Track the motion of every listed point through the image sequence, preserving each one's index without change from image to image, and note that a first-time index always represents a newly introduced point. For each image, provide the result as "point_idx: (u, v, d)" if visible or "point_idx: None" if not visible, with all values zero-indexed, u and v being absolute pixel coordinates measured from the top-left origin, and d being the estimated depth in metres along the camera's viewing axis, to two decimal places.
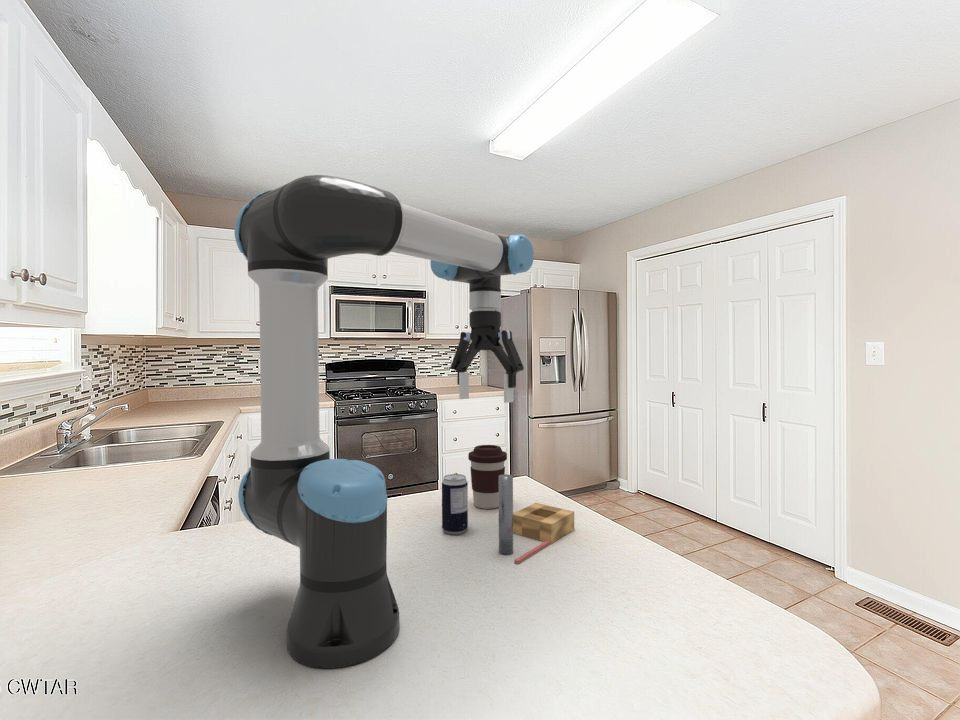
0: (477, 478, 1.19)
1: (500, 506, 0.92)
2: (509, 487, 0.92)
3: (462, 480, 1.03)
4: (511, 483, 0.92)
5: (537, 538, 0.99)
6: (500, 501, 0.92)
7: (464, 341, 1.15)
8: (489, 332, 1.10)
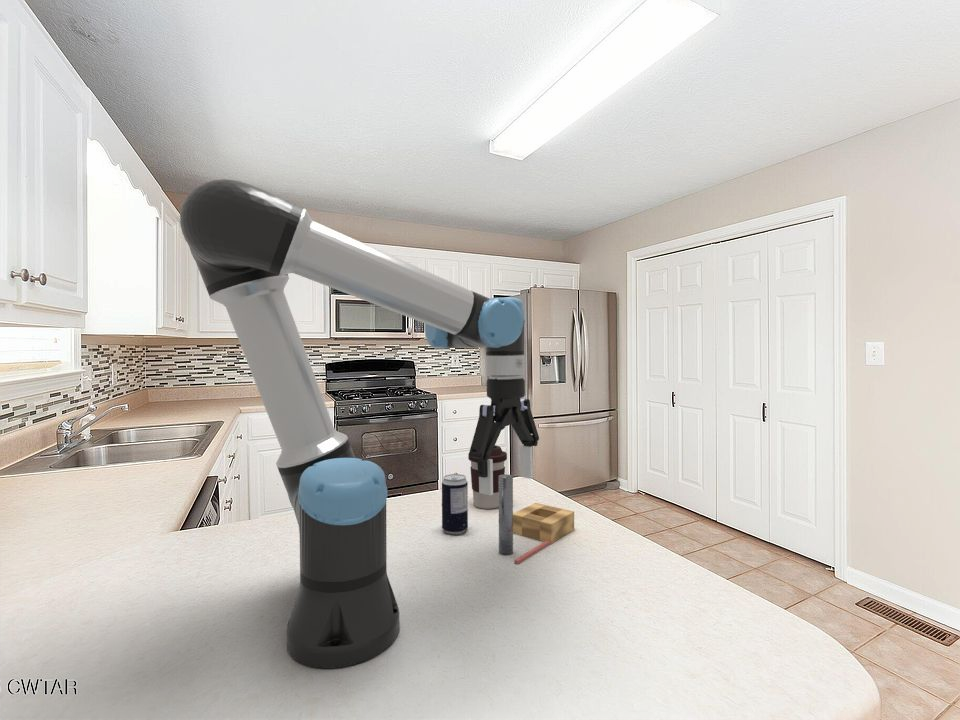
0: (477, 478, 1.19)
1: (500, 506, 0.92)
2: (509, 487, 0.92)
3: (462, 480, 1.03)
4: (511, 483, 0.92)
5: (537, 538, 0.99)
6: (500, 501, 0.92)
7: None
8: None
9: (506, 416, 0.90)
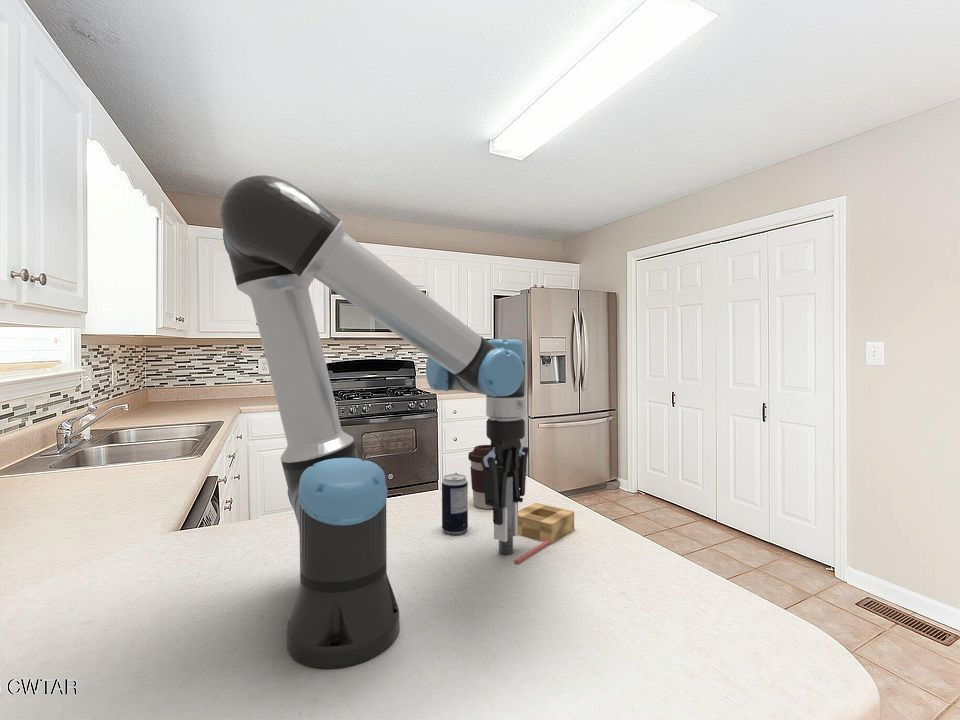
0: (477, 478, 1.19)
1: None
2: (509, 487, 0.92)
3: (462, 480, 1.03)
4: (511, 483, 0.92)
5: (537, 538, 0.99)
6: None
7: None
8: None
9: (507, 459, 0.90)
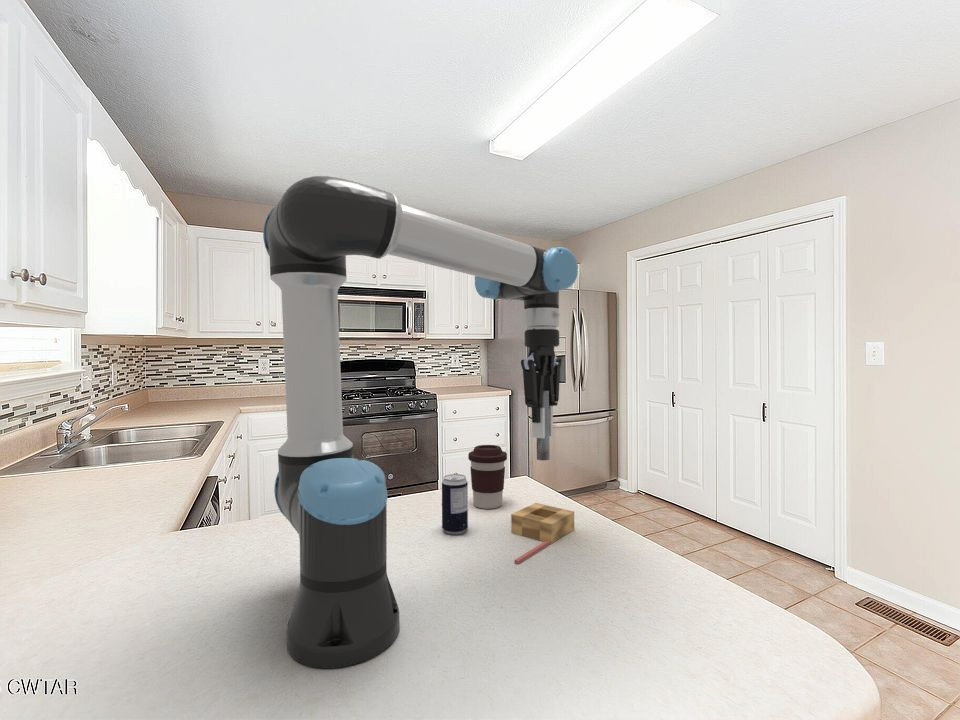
0: (477, 478, 1.19)
1: None
2: (546, 400, 1.02)
3: (462, 480, 1.03)
4: (547, 396, 1.02)
5: (537, 538, 0.99)
6: None
7: None
8: None
9: (544, 364, 1.01)
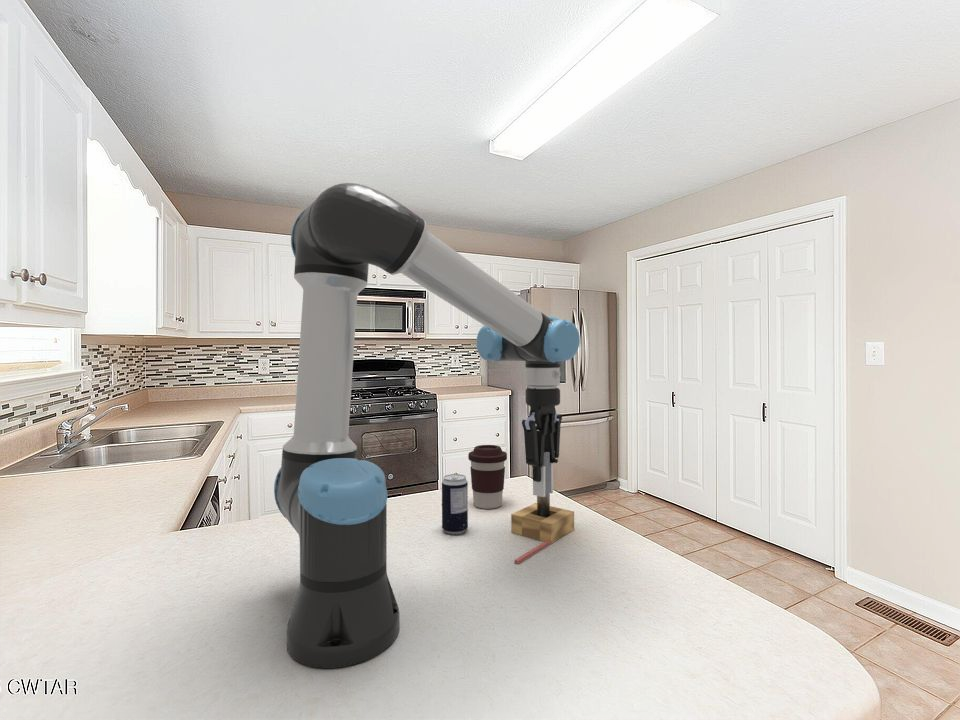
0: (477, 478, 1.19)
1: None
2: (546, 461, 1.03)
3: (462, 480, 1.03)
4: (548, 457, 1.03)
5: (537, 538, 0.99)
6: None
7: None
8: None
9: (545, 423, 1.01)
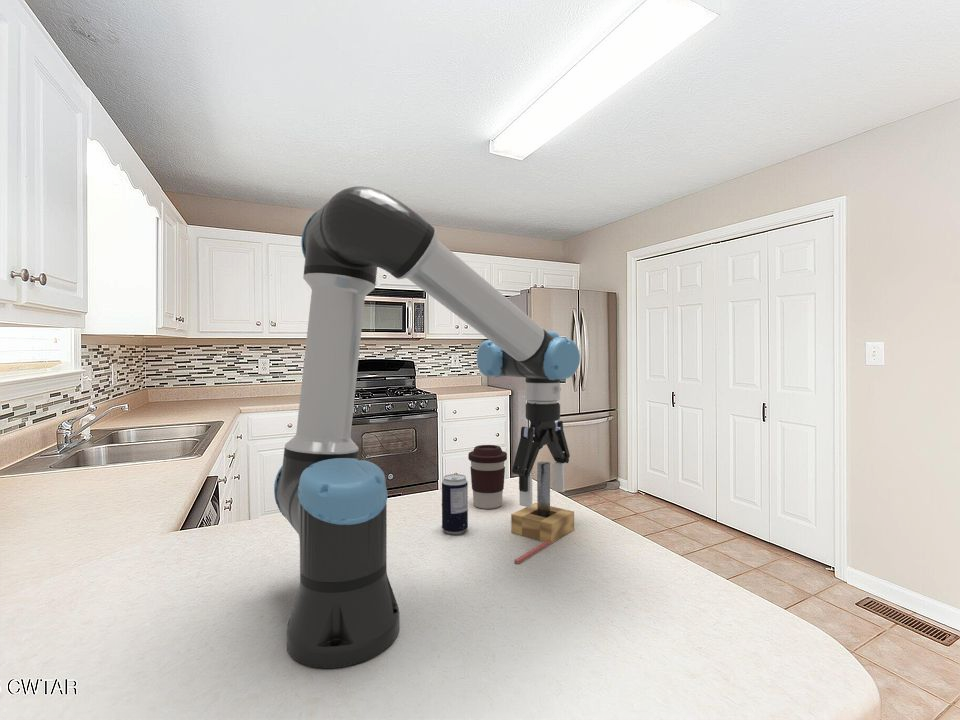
0: (477, 478, 1.19)
1: (539, 489, 1.03)
2: (547, 473, 1.03)
3: (462, 480, 1.03)
4: (549, 469, 1.03)
5: (537, 538, 0.99)
6: (538, 485, 1.03)
7: None
8: None
9: (544, 437, 1.01)
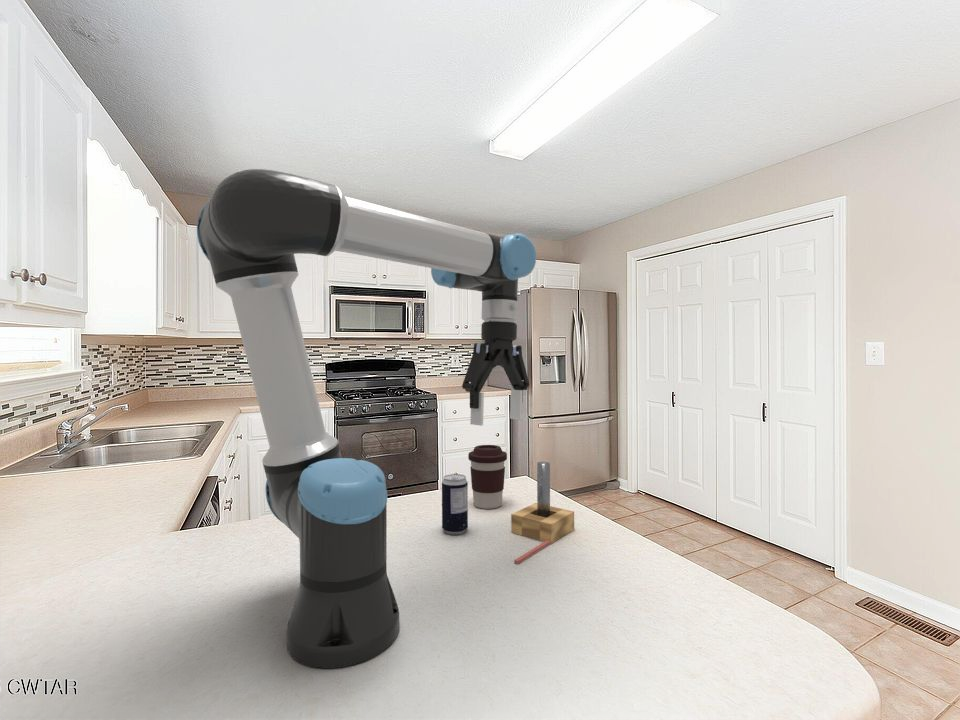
0: (477, 478, 1.19)
1: (539, 489, 1.03)
2: (547, 473, 1.03)
3: (462, 480, 1.03)
4: (549, 469, 1.03)
5: (537, 538, 0.99)
6: (538, 485, 1.03)
7: (511, 355, 1.05)
8: None
9: (498, 355, 0.97)
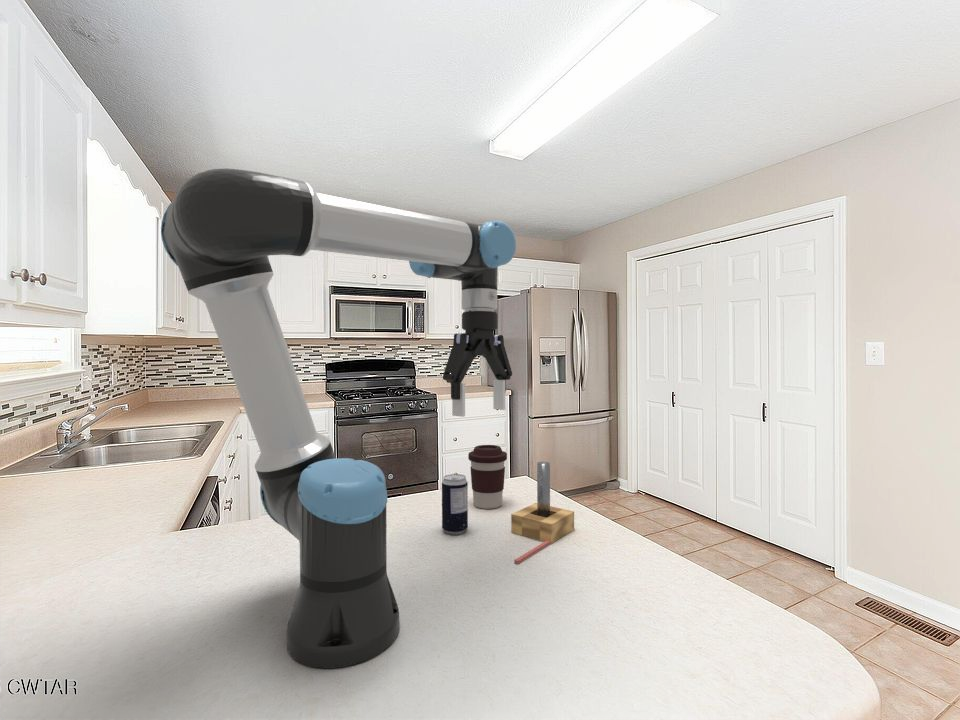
0: (477, 478, 1.19)
1: (539, 489, 1.03)
2: (547, 473, 1.03)
3: (462, 480, 1.03)
4: (549, 469, 1.03)
5: (537, 538, 0.99)
6: (538, 485, 1.03)
7: None
8: None
9: (479, 345, 0.96)
